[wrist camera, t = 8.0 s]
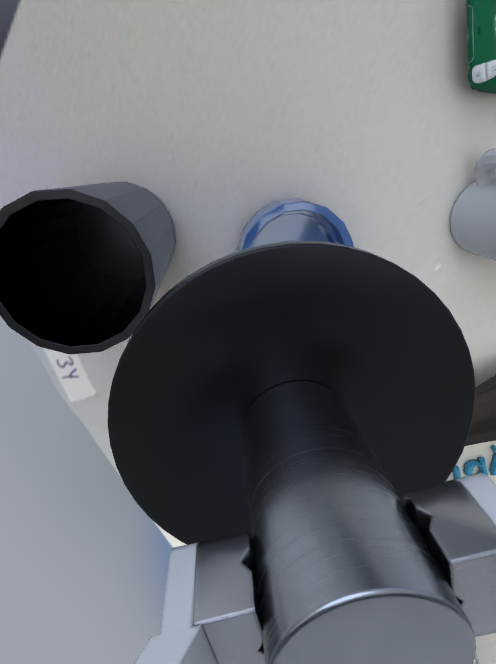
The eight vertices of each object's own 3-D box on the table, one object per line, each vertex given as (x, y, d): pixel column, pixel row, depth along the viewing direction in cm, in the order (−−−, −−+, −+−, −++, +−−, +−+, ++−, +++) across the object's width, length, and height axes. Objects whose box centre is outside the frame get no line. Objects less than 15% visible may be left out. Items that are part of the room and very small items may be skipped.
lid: (143, 553, 14) (81, 891, 7) (84, 251, 11) (-133, 383, 4) (437, 522, 15) (624, 813, 8) (475, 223, 11) (865, 298, 4)
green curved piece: (477, -24, 35) (454, -35, 31) (532, -47, 33) (514, -62, 29) (480, 98, 39) (460, 103, 35) (530, 86, 36) (514, 89, 32)
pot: (83, 287, 40) (5, 360, 24) (63, 185, 37) (-42, 195, 21) (180, 279, 40) (163, 346, 25) (168, 178, 37) (141, 183, 22)
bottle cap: (225, 288, 41) (227, 300, 37) (255, 185, 38) (260, 186, 34) (319, 313, 43) (330, 327, 39) (355, 216, 40) (370, 221, 36)
